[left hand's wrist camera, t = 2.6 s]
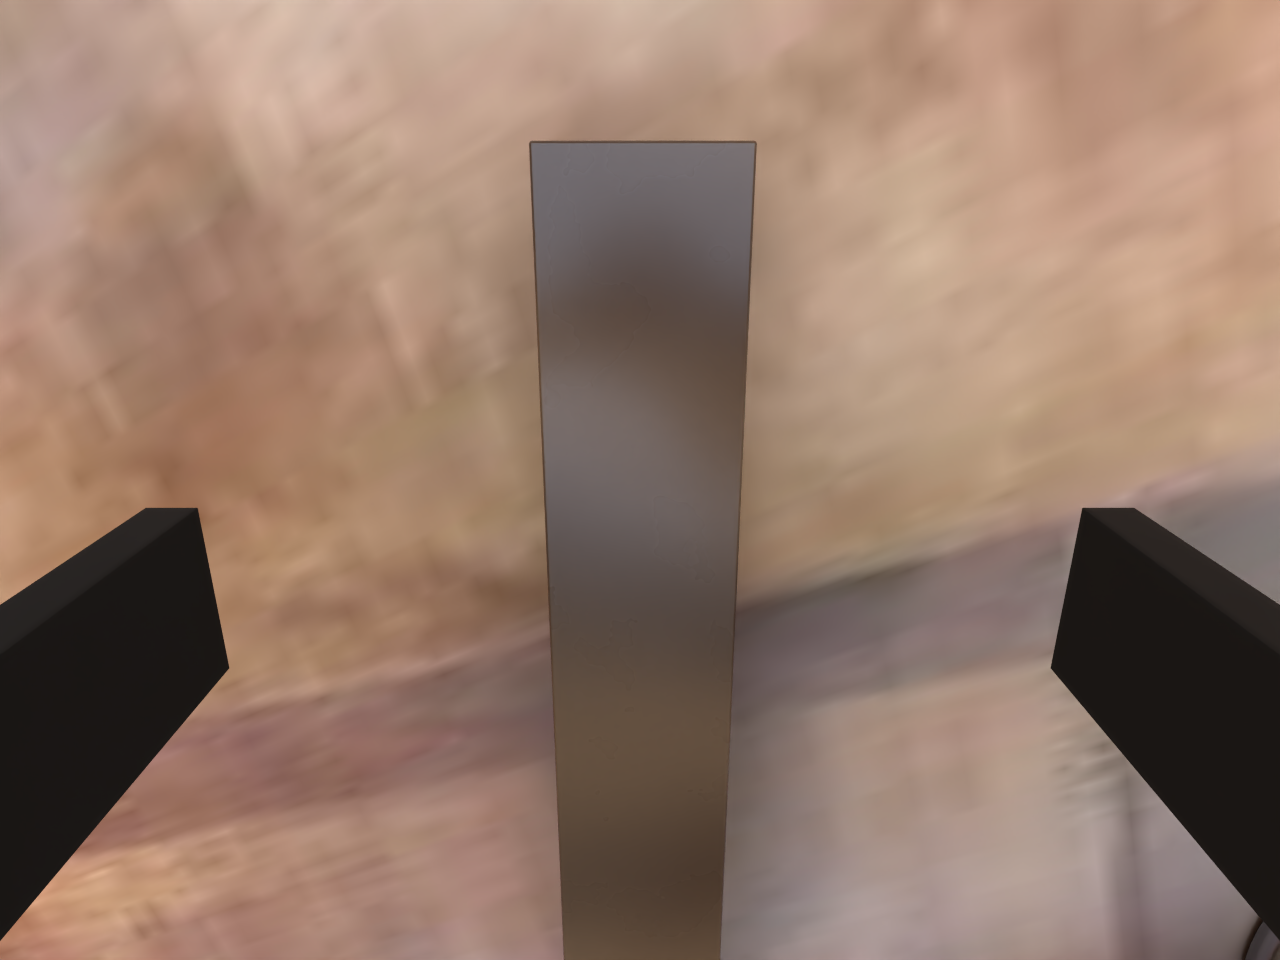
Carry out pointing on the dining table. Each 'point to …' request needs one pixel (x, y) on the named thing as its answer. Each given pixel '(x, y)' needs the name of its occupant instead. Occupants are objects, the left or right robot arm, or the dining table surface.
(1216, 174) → the dining table surface
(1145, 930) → the dining table surface
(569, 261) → the bar
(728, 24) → the dining table surface
